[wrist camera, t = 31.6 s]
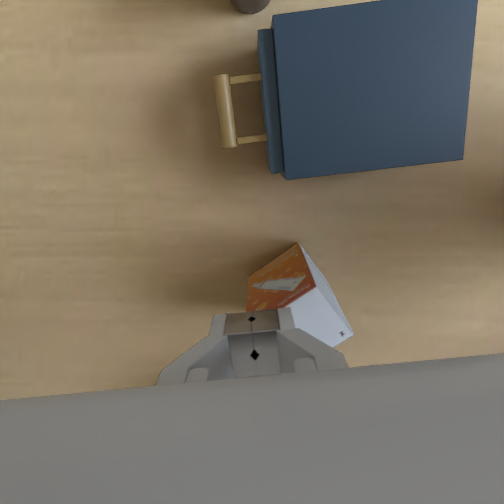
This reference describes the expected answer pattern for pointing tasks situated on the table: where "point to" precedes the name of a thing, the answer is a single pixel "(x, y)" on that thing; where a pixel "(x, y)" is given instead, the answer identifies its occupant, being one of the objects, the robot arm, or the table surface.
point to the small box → (299, 295)
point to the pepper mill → (250, 5)
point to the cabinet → (373, 85)
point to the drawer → (268, 103)
